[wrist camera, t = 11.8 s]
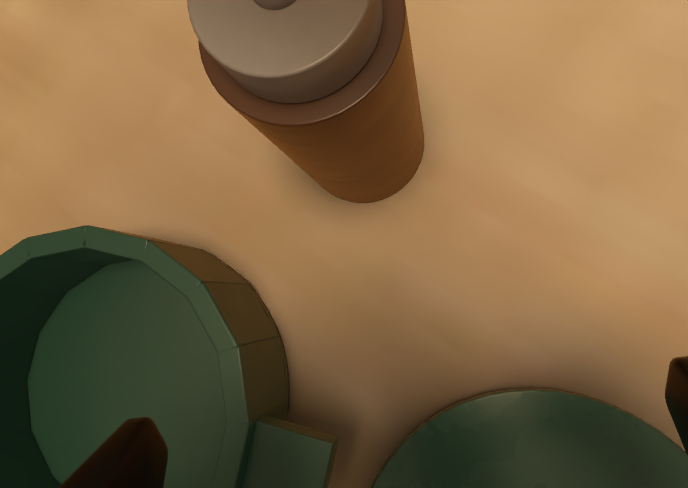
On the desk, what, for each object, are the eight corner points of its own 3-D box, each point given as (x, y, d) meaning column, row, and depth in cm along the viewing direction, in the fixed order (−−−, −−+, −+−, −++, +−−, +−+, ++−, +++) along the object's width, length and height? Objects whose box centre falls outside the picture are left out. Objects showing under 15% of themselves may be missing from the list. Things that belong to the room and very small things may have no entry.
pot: (313, 603, 22) (273, 693, 17) (-58, 470, 25) (-179, 512, 20) (382, 291, 22) (365, 290, 17) (12, 205, 26) (-89, 183, 21)
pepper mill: (389, 223, 22) (318, 133, 10) (286, 171, 24) (107, 31, 11) (445, 115, 22) (444, -109, 10) (340, 68, 24) (220, -188, 11)
